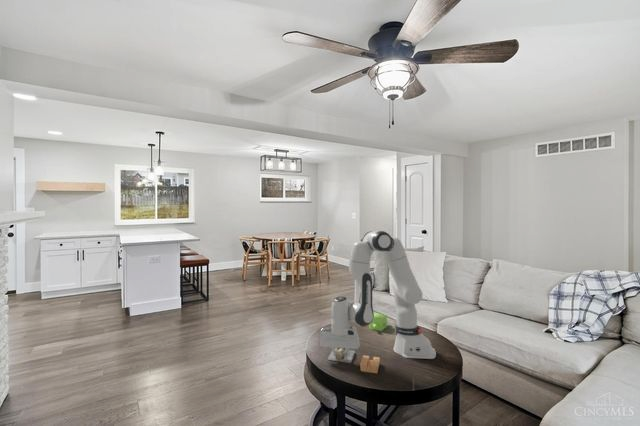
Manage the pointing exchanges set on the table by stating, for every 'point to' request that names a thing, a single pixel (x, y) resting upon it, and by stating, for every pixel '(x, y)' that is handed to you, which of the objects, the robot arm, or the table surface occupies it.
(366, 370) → the orange grooved block
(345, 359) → the block
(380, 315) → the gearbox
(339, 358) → the axle
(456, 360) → the table surface
